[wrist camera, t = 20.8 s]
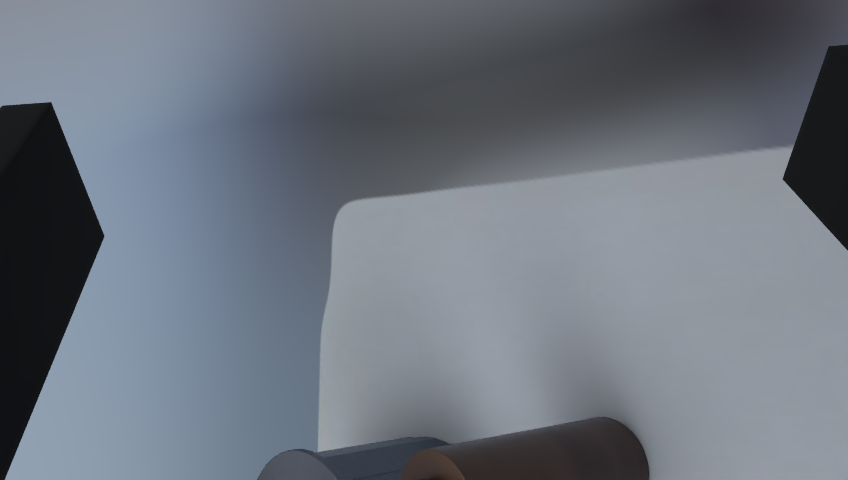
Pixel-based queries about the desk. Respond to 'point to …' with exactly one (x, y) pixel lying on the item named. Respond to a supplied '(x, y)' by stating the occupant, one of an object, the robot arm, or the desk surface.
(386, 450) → the pot
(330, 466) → the pot lid
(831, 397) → the desk surface
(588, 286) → the desk surface
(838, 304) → the desk surface
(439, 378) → the desk surface
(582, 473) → the pepper mill
